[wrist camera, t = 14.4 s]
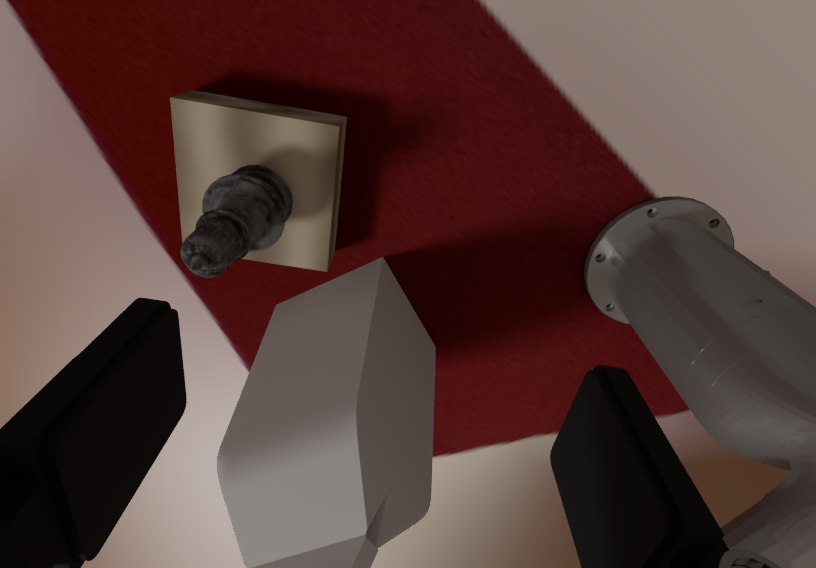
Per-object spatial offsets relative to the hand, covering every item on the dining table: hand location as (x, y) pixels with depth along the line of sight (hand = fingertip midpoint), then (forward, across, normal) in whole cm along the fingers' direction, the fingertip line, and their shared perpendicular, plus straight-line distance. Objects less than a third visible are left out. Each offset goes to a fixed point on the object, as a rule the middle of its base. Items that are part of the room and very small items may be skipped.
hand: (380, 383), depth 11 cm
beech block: (+30, +11, +6) cm, 33 cm away
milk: (+31, +2, +20) cm, 37 cm away
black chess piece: (+26, +11, +6) cm, 29 cm away
